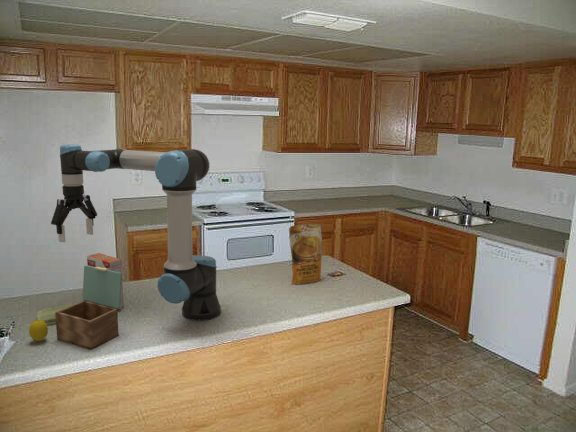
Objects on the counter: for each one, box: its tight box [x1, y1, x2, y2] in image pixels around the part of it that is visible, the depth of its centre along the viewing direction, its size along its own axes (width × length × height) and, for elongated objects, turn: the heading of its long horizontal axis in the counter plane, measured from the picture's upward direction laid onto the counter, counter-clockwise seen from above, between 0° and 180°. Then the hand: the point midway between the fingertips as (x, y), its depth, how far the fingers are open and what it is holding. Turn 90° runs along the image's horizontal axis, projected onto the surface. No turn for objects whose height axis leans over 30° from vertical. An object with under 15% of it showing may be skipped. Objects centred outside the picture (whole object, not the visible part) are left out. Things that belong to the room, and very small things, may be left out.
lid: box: [82, 265, 123, 308], centre depth 165 cm, size 17×13×2 cm
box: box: [55, 300, 122, 351], centre depth 162 cm, size 17×13×10 cm
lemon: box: [28, 318, 49, 343], centre depth 158 cm, size 6×6×8 cm
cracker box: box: [86, 252, 124, 310], centre depth 187 cm, size 14×6×21 cm, turn 58°
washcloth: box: [36, 302, 78, 327], centre depth 179 cm, size 13×18×3 cm
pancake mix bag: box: [288, 222, 323, 286], centre depth 222 cm, size 7×19×28 cm, turn 118°
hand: (76, 238), depth 185 cm, fingers open, 13 cm apart
